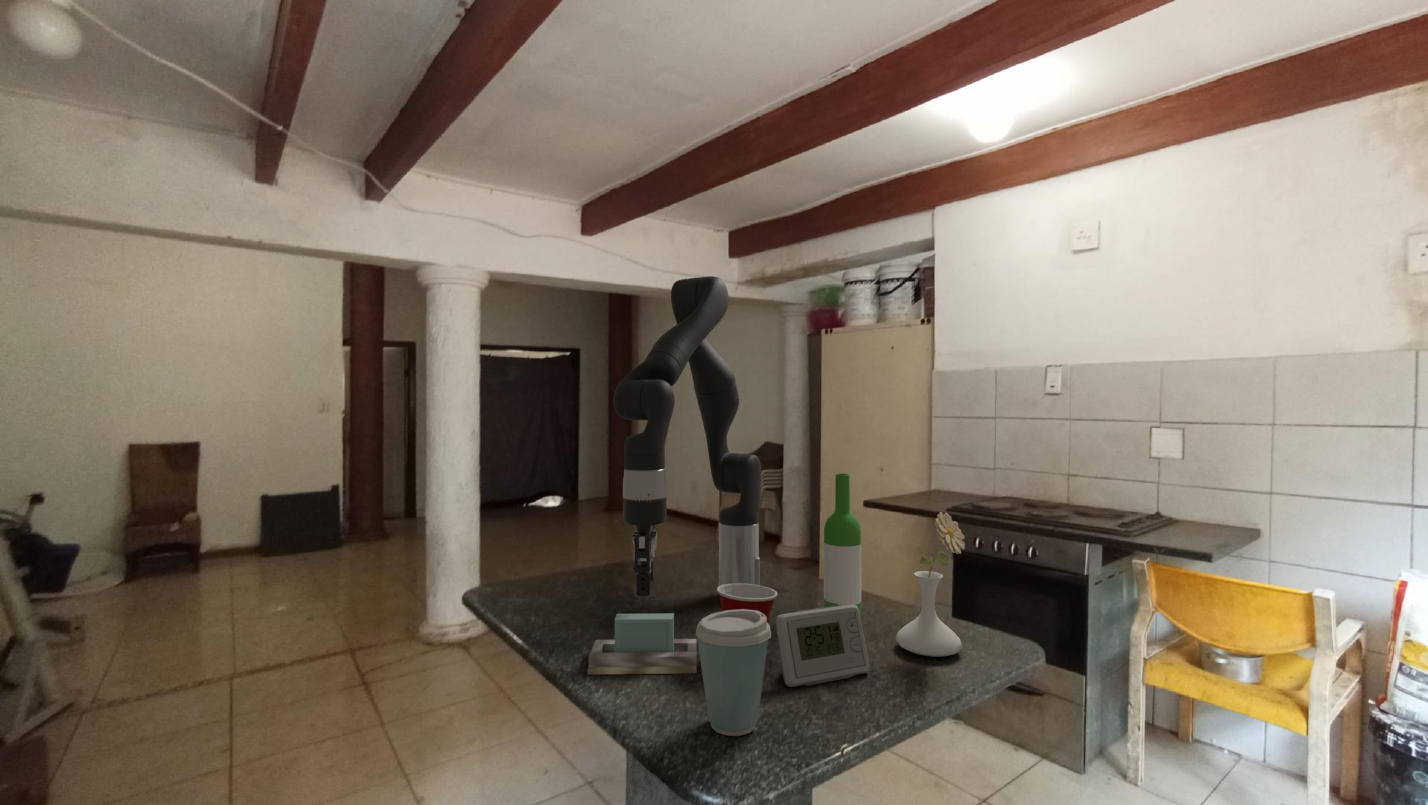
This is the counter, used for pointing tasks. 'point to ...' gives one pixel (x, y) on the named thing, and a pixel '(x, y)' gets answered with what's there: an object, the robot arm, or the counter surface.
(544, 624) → the counter surface
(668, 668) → the board
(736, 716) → the disposable coffee cup
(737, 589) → the plastic cup
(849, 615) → the digital clock
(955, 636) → the flower in vase
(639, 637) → the green rectangular block
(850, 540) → the wine bottle
